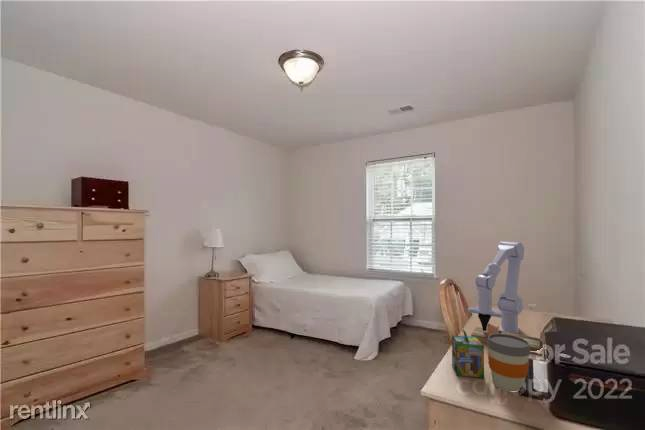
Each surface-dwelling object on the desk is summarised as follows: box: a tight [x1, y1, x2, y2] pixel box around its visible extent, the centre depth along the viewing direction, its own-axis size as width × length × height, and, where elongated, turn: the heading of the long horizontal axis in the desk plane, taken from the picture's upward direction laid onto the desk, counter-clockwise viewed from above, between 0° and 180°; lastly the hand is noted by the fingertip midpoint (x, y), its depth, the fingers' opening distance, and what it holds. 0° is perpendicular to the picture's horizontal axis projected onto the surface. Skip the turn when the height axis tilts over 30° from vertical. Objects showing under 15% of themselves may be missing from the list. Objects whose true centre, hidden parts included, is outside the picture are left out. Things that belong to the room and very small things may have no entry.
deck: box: [470, 326, 544, 351], centre depth 143 cm, size 13×27×6 cm, turn 54°
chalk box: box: [451, 328, 485, 379], centre depth 116 cm, size 9×9×15 cm
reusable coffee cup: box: [486, 334, 531, 392], centre depth 106 cm, size 13×13×15 cm
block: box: [487, 322, 500, 335], centre depth 146 cm, size 4×4×4 cm
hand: (484, 330), depth 148 cm, fingers closed
